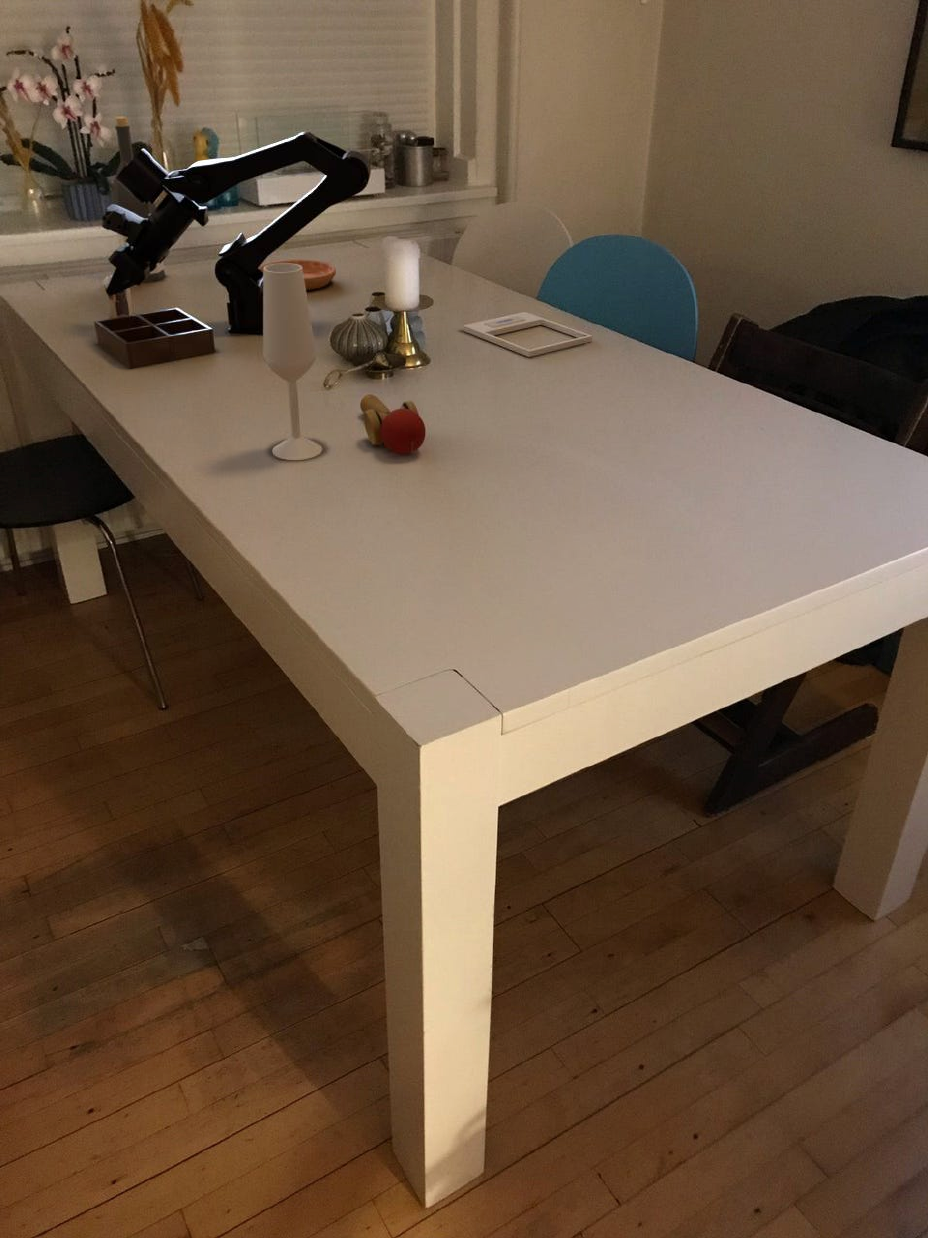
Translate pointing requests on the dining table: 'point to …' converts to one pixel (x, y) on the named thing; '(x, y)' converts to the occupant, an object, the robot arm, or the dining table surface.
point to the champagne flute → (288, 345)
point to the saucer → (312, 272)
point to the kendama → (393, 425)
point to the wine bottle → (124, 196)
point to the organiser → (154, 337)
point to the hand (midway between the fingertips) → (111, 289)
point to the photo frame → (519, 322)
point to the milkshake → (118, 301)
